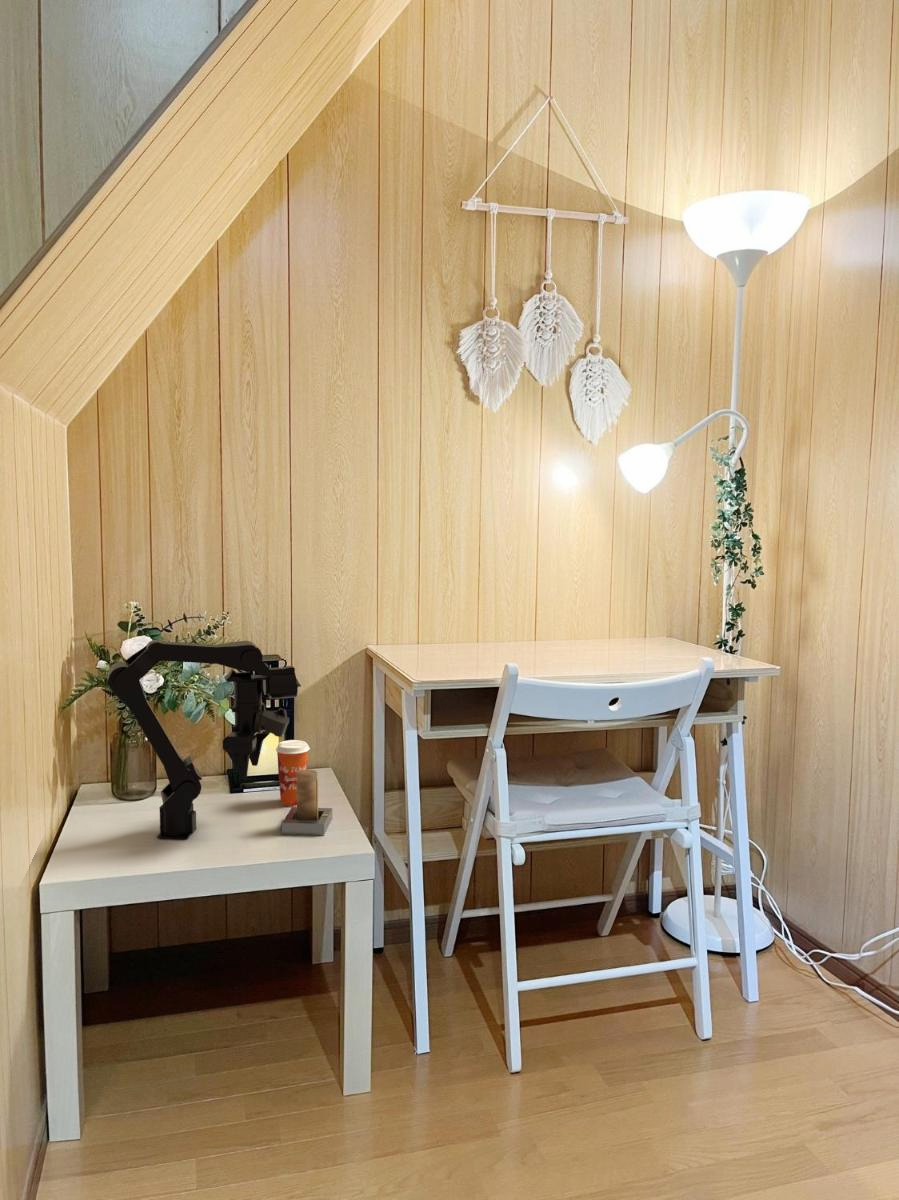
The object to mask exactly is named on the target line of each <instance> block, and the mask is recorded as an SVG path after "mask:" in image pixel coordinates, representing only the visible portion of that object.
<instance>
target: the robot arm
mask: <svg viewBox="0 0 899 1200" xmlns="http://www.w3.org/2000/svg"><path fill="white" fill-rule="evenodd" d="M263 658H264V657H263V653H262V650H261V649H260V648H259V647H258V646H257V645H256V644H255V643H253V642H252V641H250V640H238V641H231V642H226V643H225V642H224V643H220V644H219V643H218V644H211V643H195V642H193V643H192V642H182V641H181V642H179V641H178V642H177V641H163V640H160V639H152V640H150V641H149V642H148V643H147V644H146V645H145V646H143V647H142V648H141V649H139V650H137V651H136V652H134V653H133V654H132V655H131V656H129V657H128V658H127V659H126V660H125V661H118V662H115V663H114V664H113V665H111V666H110V668H109V669H108V673H107V684H108V686H109V689H110V691H112V692H113V694H114V695H115V696H116V697H117V698H118V700H120V702H122V703H123V704H124V705H125V706H126V707H127V708H128V709H129V711H131V713H132V716H133V717H134V718H135V719H136V722H137V724H138V725H139V727H140V728H141V730H142V731H143V733H144V735H145V737H146V738H147V740H148V741H149V744H150V746H151V747H152V749H153V750H154V752H155V754H156V755H157V757H158V758H159V760H160V762H161V764H162V766H163V768H164V770H165V774H166V776H167V780H168V782H169V783H168V784H167V785H166V786H165V787H163V789H162V790H161V791H160V796H161V800H162V804H161V805H160V806H159V833H158V834H157V836H156V838H157V839H164V840H165V839H166V840H167V839H172V840H188V839H189V838H190V837H191V835H193V834H194V832H196V830H197V828H198V827H197V811H196V810H194V803H193V801H195V800H196V799H197V798H198V797H199V796H200V794H201V791H202V784H201V780H203V778H202V775H201V773H200V770H199V768H197V767H196V766H195V765H194V763H193V760H192V757H191V755H189V756H187V757H186V758H184V757H183V756H182V755H180V753H179V751H178V750H177V748H176V747H175V745H174V744H173V742H172V740H171V739H170V737H169V735H168V734H167V732H166V729H164V727H163V724H162V723H161V721H160V720H159V717H157V715H156V712H155V711H154V710H153V708H152V706H151V704H150V702H149V701H148V699H147V697H146V695H145V691H144V688H143V685H142V683H141V679H143V678H144V677H145V676H146V675H147V674H148V673H149V672H150V671H151V670H152V669H153V668H154V667H155V666H156V665H157V664H159V663H160V662H177V663H193V664H194V663H195V664H199V663H200V664H213V665H214V664H215V665H220V666H222V667H223V666H224V667H225V668H231V669H230V671H229V672H228V673H227V674H226V675H224V677H223V678H224V681H226V683H233V695H234V697H233V699H234V700H233V701H234V702H233V704H234V705H233V706H232V707H231V713H234V724H233V726H231V728H232V729H231V732H230V733H229V734H228V735H227V736H226V737H225V738H223V740H222V750H223V751H224V752H225V753H226V754H227V755H228V756H229V758H230V760H231V762H232V763H233V766H234V767H235V769H236V771H237V774H238V775H239V776H240V778H241V779H247V777H248V771H249V764H250V763H251V766H253V767H257V766H258V764H259V761H260V760H259V759H260V756H261V752H262V747H263V743H264V740H265V739H266V738H267V737H268V736H269V735H270V734H272V735H274V736H275V737H277V738H278V737H279V738H281V737H283V735H284V734H285V733H286V731H287V727H288V725H289V724H290V717H288V712H287V710H286V709H284V708H281V707H280V708H279V709H277V710H276V711H268V710H267V709H266V704H265V703H264V702H263V700H262V697H263V696H262V689H263V694H264V696H266V695H268V698H269V699H270V700H274V699H275V700H276V699H277V700H279V699H288V698H289V699H291V698H297V697H298V692H299V690H298V688H299V686H298V682H297V676H296V672H295V671H296V669H295V667H294V666H293V665H288V666H283V667H270V666H269V665H268V664H267V663H266V662H264V661H263ZM235 670H238V671H235ZM240 671H241V672H240ZM251 672H254V673H256V674H252V673H251Z"/></svg>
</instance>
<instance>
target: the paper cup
mask: <svg viewBox="0 0 899 1200" xmlns="http://www.w3.org/2000/svg"><path fill="white" fill-rule="evenodd" d="M310 749H311V748H310V746H309V744H308V743H307V742H306V741H304V740H301V739H299V740H298V739H288V740H283V741H280V742H278V743H277V746H276V748H275V751H276V754H277V767H278V782H279V795H280V804H281V803H282V804H283V805H282V804H281V805H282V806H285V805H286V806H285V807H295V806H294V805H297V778H296V773H297V772H298V771H301V770H308V758H309V753H308V752H309V750H310Z"/></svg>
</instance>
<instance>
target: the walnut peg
mask: <svg viewBox="0 0 899 1200" xmlns="http://www.w3.org/2000/svg"><path fill="white" fill-rule="evenodd" d="M296 778H297V806H296V807H297V820H317V821H318V808H319V777H318V772H317V771H316V770H315V769H307V770H301V771H298V772H297V773H296Z"/></svg>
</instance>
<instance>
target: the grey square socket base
mask: <svg viewBox="0 0 899 1200" xmlns="http://www.w3.org/2000/svg"><path fill="white" fill-rule="evenodd" d="M331 820H332V821H333V807H332V808H331V807H318V821H317V820H297V806H291V807H290V810H289V811H288V813H286V816H285V817H284V819H283V821H282V823H281V835H290V834H291V835H292V836H296V834H297V835H299V834H300V836H325V835H326V833H327V831H328V829H327V828H329V827H328V826H330V825H329V824H331V823H332V821H331ZM330 822H331V823H330ZM326 830H327V831H326ZM325 832H326V833H325ZM294 834H295V835H294ZM324 834H325V835H324Z"/></svg>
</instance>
